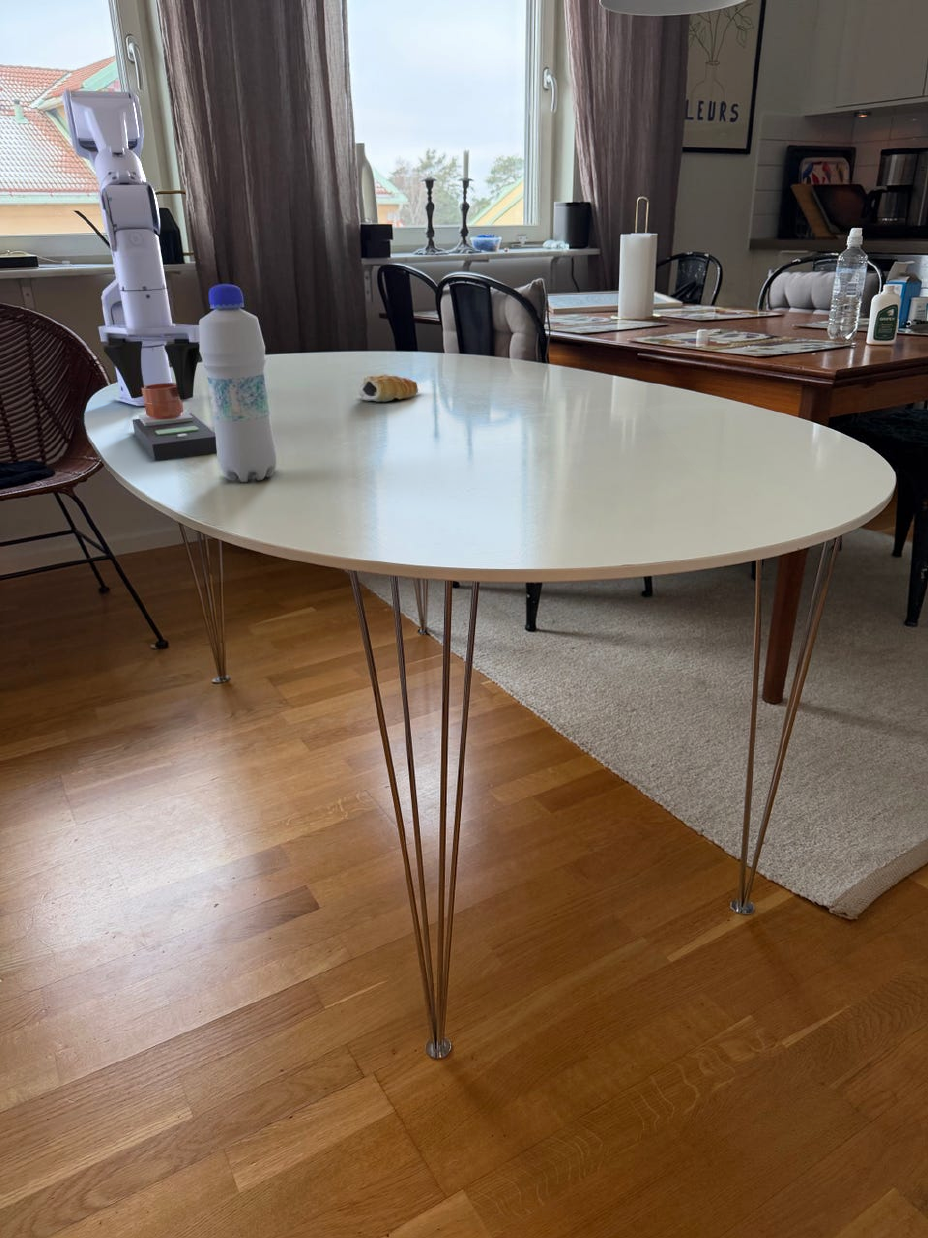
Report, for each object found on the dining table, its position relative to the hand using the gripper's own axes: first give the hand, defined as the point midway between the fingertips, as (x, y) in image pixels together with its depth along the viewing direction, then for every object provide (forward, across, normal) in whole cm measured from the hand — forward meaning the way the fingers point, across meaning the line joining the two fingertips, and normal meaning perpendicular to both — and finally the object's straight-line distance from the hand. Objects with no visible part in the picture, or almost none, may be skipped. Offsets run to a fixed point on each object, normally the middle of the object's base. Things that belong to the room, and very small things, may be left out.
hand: (162, 397), depth 115 cm
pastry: (+5, +20, +30) cm, 36 cm away
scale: (+5, +4, -4) cm, 8 cm away
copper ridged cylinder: (+2, 0, 0) cm, 2 cm away
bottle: (+5, +23, -18) cm, 30 cm away
